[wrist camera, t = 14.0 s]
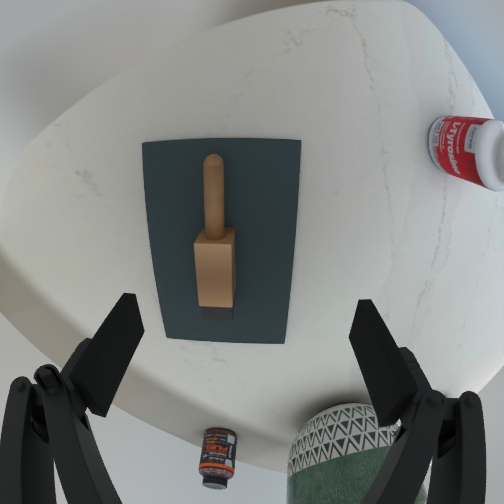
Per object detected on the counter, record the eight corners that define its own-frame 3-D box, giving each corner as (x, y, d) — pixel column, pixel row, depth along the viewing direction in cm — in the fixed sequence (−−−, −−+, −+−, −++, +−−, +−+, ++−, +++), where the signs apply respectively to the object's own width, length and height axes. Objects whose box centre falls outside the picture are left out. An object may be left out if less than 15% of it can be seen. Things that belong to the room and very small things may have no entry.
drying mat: (143, 142, 22) (141, 143, 22) (300, 140, 22) (301, 140, 22) (167, 335, 31) (166, 338, 31) (284, 341, 31) (284, 343, 31)
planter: (325, 446, 44) (336, 534, 25) (256, 420, 39) (253, 537, 19) (408, 400, 38) (442, 496, 18) (356, 361, 33) (398, 506, 13)
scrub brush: (200, 152, 22) (189, 156, 19) (235, 151, 22) (231, 155, 19) (207, 298, 28) (200, 321, 25) (236, 299, 28) (233, 323, 25)
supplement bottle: (230, 425, 40) (225, 482, 30) (241, 439, 42) (238, 491, 32) (199, 427, 41) (190, 481, 31) (212, 441, 43) (205, 490, 33)
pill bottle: (424, 112, 20) (503, 115, 10) (465, 119, 20) (540, 129, 10) (426, 172, 23) (501, 203, 13) (466, 174, 22) (537, 203, 12)
